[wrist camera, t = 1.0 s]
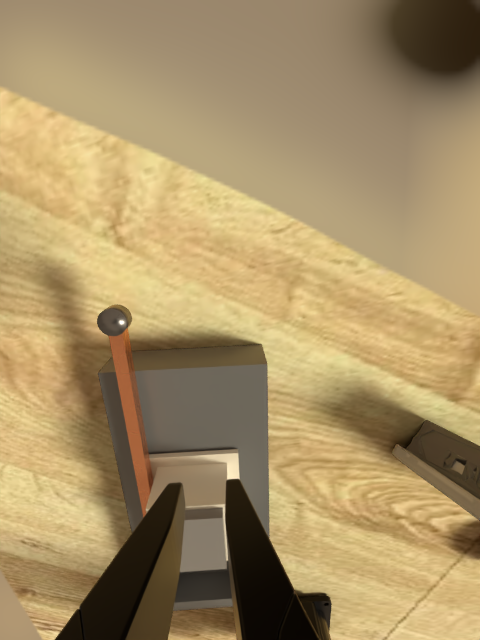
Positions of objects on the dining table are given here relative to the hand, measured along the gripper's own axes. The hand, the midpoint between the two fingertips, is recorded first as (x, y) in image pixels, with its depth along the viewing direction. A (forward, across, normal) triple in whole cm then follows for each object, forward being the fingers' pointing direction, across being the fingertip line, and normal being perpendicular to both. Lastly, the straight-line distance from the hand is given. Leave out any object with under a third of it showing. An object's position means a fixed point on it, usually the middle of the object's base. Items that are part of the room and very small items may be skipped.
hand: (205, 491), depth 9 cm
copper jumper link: (+8, +5, +6) cm, 11 cm away
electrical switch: (+12, -18, +10) cm, 24 cm away
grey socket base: (+12, +2, +12) cm, 17 cm away
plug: (+11, +2, +10) cm, 15 cm away
